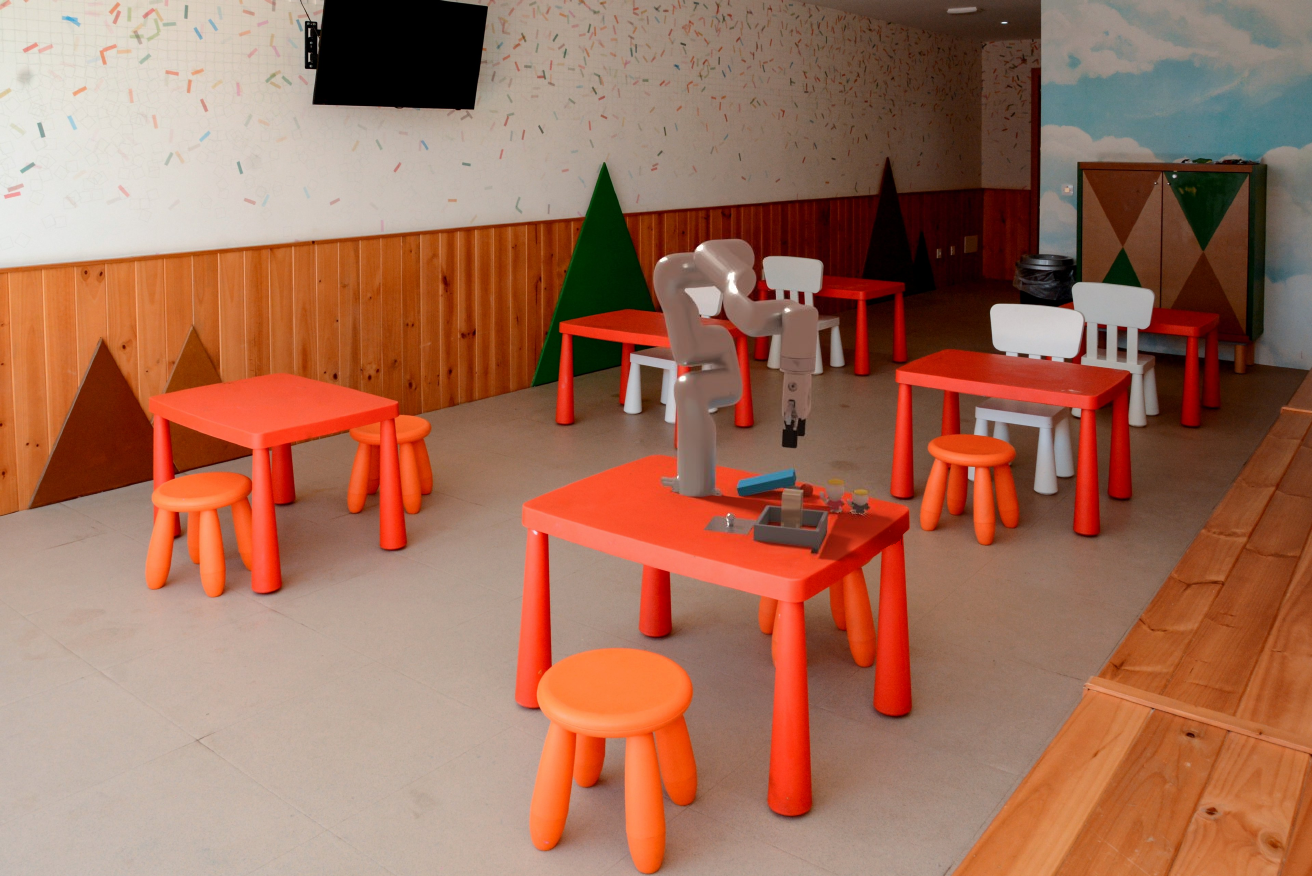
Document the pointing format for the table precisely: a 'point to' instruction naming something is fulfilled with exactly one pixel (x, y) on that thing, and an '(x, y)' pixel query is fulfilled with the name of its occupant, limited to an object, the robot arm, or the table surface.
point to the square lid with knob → (730, 524)
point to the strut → (792, 508)
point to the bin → (792, 534)
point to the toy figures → (836, 492)
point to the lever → (772, 483)
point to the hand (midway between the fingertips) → (793, 441)
